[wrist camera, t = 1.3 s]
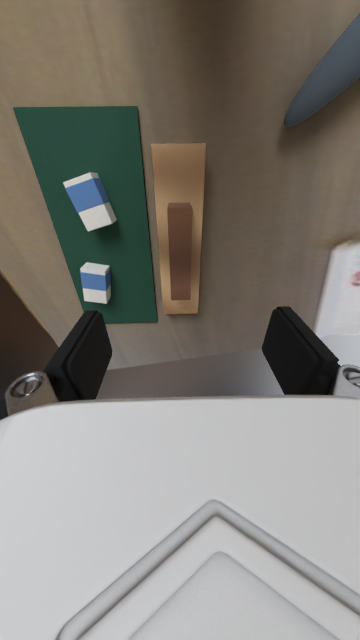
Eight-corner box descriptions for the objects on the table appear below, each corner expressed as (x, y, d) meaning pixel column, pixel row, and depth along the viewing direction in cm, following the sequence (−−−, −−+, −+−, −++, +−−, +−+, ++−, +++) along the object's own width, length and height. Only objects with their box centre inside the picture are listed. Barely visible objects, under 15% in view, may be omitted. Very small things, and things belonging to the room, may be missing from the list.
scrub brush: (153, 147, 21) (145, 135, 16) (203, 146, 22) (213, 135, 16) (163, 306, 33) (161, 332, 27) (196, 305, 33) (200, 331, 27)
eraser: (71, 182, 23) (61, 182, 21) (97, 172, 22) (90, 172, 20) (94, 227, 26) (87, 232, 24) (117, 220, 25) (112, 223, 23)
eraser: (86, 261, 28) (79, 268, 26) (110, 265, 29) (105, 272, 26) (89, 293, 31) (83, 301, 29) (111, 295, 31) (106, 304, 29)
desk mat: (15, 108, 20) (12, 107, 19) (137, 107, 20) (136, 106, 19) (88, 322, 35) (87, 323, 34) (157, 320, 35) (157, 322, 34)
